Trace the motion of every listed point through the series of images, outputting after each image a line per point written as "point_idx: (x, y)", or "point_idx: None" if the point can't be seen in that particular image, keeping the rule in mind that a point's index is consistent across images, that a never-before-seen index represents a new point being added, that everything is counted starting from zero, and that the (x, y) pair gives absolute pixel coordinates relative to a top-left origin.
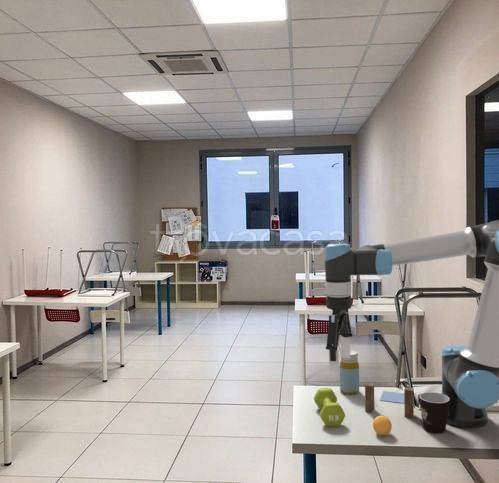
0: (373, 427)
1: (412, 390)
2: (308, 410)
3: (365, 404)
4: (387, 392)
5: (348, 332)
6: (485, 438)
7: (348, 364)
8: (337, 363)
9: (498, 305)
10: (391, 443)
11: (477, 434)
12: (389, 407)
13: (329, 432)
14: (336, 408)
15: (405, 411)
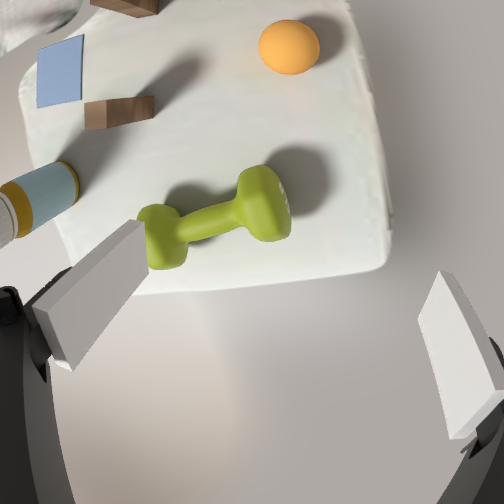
0: (302, 72)
1: None
2: (199, 265)
3: (142, 119)
4: (41, 96)
5: (16, 357)
6: None
7: (19, 213)
8: (470, 313)
9: None
10: (342, 28)
11: None
12: (111, 64)
13: (319, 197)
14: (275, 198)
15: (149, 9)
